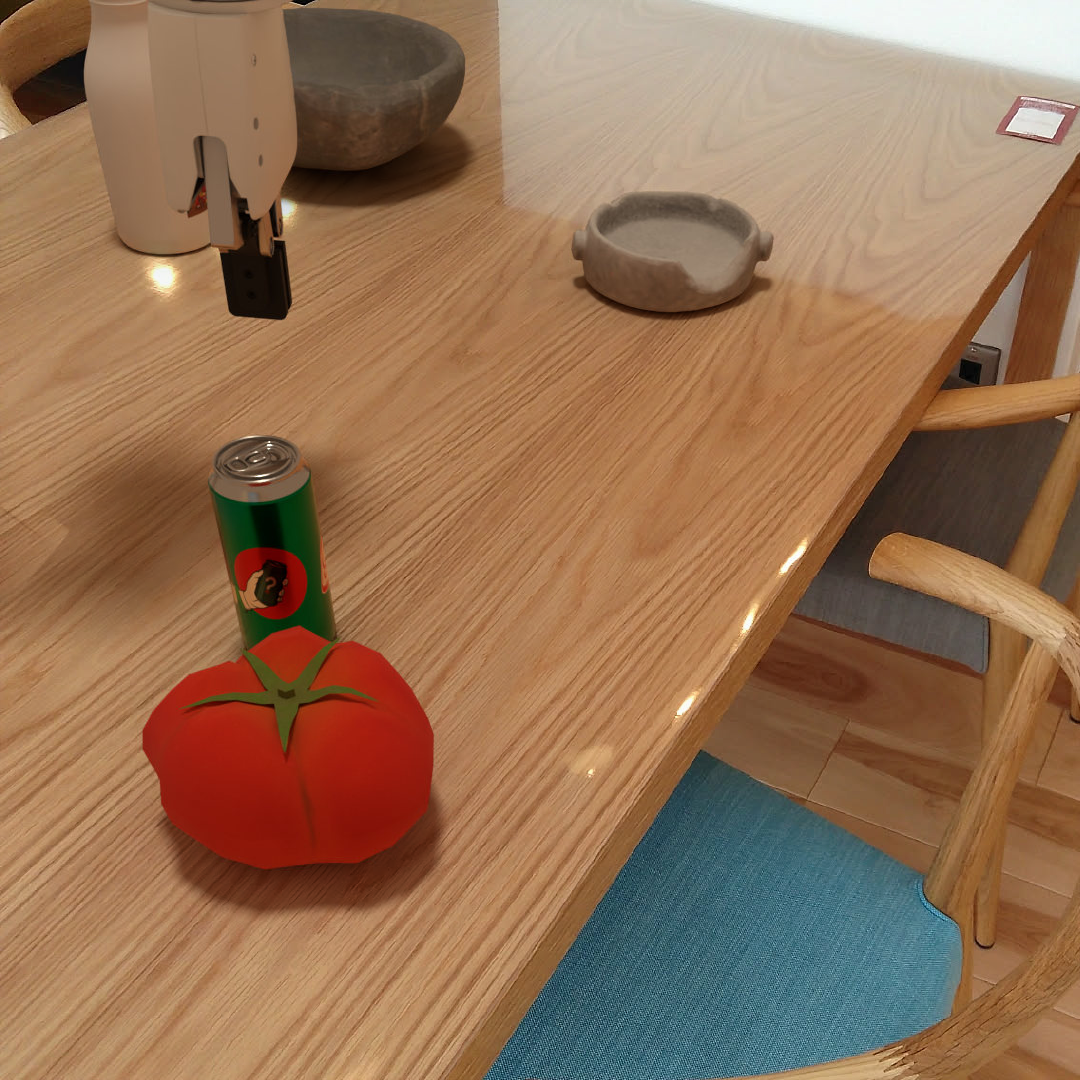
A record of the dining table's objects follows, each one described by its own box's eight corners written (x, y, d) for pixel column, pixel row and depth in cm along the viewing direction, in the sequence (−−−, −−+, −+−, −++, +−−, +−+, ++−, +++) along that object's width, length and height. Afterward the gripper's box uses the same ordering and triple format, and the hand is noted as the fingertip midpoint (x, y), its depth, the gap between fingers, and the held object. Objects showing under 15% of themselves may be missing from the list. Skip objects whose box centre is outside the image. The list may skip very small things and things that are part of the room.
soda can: (355, 644, 78) (328, 463, 69) (274, 682, 75) (236, 498, 66) (306, 599, 80) (274, 419, 72) (226, 635, 77) (184, 452, 69)
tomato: (483, 741, 73) (474, 612, 67) (408, 927, 64) (390, 797, 58) (230, 700, 74) (198, 569, 67) (121, 879, 64) (73, 746, 58)
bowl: (520, 148, 129) (517, 34, 122) (369, 232, 114) (355, 108, 107) (323, 90, 136) (310, -21, 129) (156, 163, 121) (130, 42, 114)
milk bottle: (167, 266, 107) (106, -13, 94) (98, 237, 110) (28, -39, 96) (241, 233, 112) (193, -37, 99) (173, 206, 115) (117, -60, 101)
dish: (784, 277, 114) (791, 218, 111) (690, 339, 105) (694, 278, 102) (643, 225, 119) (645, 168, 116) (542, 280, 111) (540, 220, 107)
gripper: (173, -95, 71) (224, 247, 83) (82, -4, 60) (157, 372, 73) (321, -78, 71) (350, 258, 84) (259, 14, 61) (303, 384, 73)
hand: (261, 310), depth 78 cm, fingers closed
